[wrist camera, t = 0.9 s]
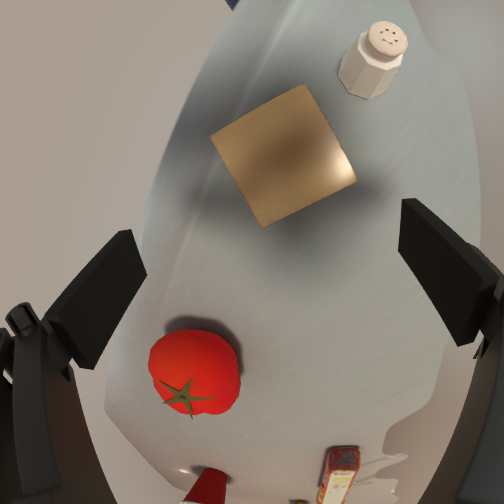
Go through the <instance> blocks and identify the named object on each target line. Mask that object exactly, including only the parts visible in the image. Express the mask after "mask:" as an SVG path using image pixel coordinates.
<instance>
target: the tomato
mask: <svg viewBox="0 0 504 504" xmlns="http://www.w3.org/2000/svg"><path fill="white" fill-rule="evenodd" d="M148 368H149V372H150V374H151V376H152V377H153V382H154V387H155V389H156V390H157V392H158V393H159V395H160V396H161V397H162V399H163V400H164V403H166V404H168V405H169V406H171V407H172V408H173V409H175V410H177V411H178V412H180V413H184V414H190V417H191V418H192V415H198V414H201V413H208V414H212V415H216V414H221V413H224V412H226V411H227V410H229V409H230V408H231V407H232V405H233V404H234V402H235V401H236V399H237V398H238V396H239V391H240V385H241V381H240V375H239V369H238V362H237V357H236V354H235V352H234V350H233V349H232V347H231V346H230V344H229V343H228V342H227V341H225V340H224V339H223V338H221V337H220V336H219V335H217V334H214V333H211V332H207V331H204V330H193V329H182V330H178V331H174V332H171V333H169V334H167V335H165V336H164V337H162V338H161V339H159V340H158V341H157V342H156V343H155V344H154V345H153V347H152V348H151V350H150V356H149V361H148ZM192 419H193V418H192Z"/></svg>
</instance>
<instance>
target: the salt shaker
mask: <svg viewBox="0 0 504 504" xmlns="http://www.w3.org/2000/svg"><path fill="white" fill-rule="evenodd" d="M407 46H408V42H407V38H406V35H405V34H404V32H403V31H402V30H401V29H400V28H399V27H398V26H396V25H394V24H392V23H390V22H386V21H378V22H375V23H373V24H372V25H371V26H370V27H369V29H368V31H367V32H364V33H362V34H360V35H359V36H358V37H357V39H356V40H355V42H354V43H353V44H352V46H351V47H350V48H349V50H348V51H347V53H346V54H345V55H344V57H343V58H342V61H341V65H340V69H339V73H338V77H339V78H340V80H341V81H342V83H343V85H344V86H345V88H346V89H347V91H348V92H349V93H350V94H353V95H356V96H359V97H362V98H365V99H368V100H369V99H372V98H374V97H376V96H378V95H381V94H383V93H385V92H386V90H387V89H388V87H389V85H390V84H391V82H392V80H393V78H394V77H395V75H396V73H397V72H398V70H399V68H400V66H401V62H402V57H403V53H404V52H405V51H406V49H407Z"/></svg>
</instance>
